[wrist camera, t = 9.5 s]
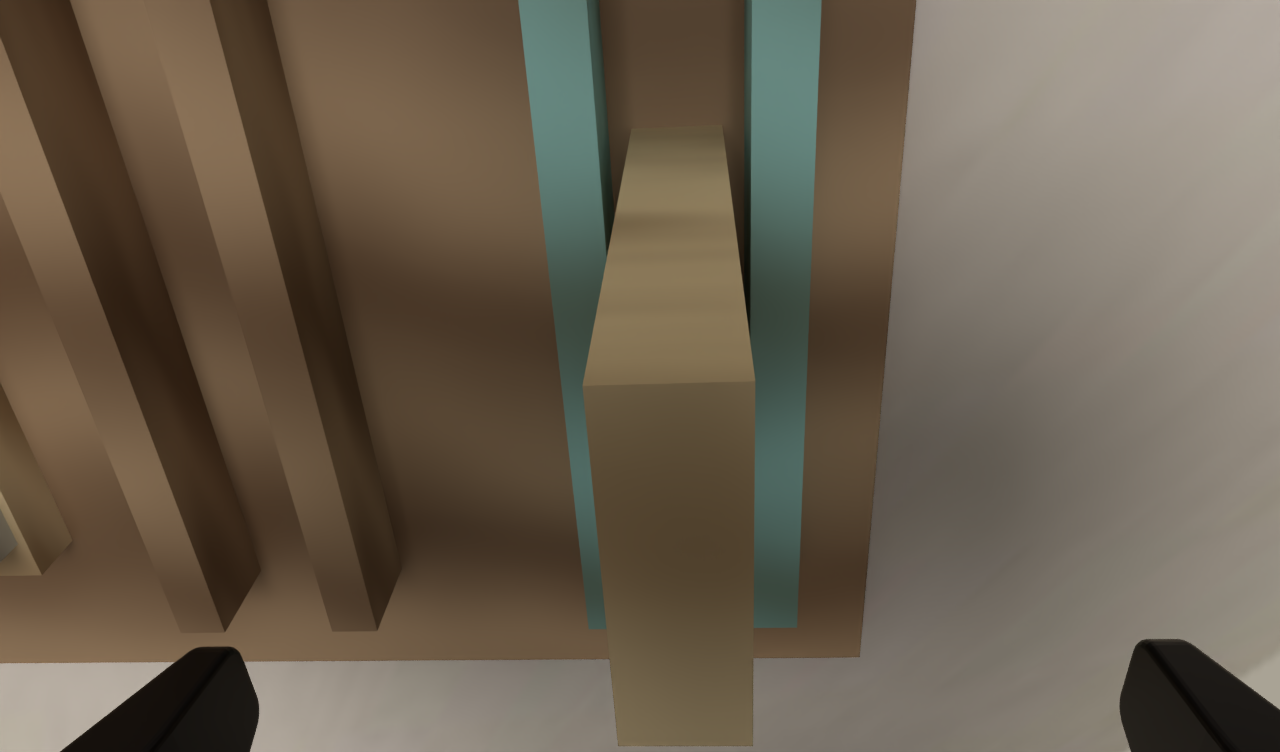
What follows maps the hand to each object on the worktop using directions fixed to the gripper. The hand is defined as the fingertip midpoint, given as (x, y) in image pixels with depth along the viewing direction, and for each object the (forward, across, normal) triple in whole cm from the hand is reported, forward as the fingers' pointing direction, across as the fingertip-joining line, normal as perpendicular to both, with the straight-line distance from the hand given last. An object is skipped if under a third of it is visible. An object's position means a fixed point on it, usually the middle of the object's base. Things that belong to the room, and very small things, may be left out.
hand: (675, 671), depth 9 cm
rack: (+11, +9, 0) cm, 14 cm away
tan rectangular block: (+10, 0, 0) cm, 10 cm away
